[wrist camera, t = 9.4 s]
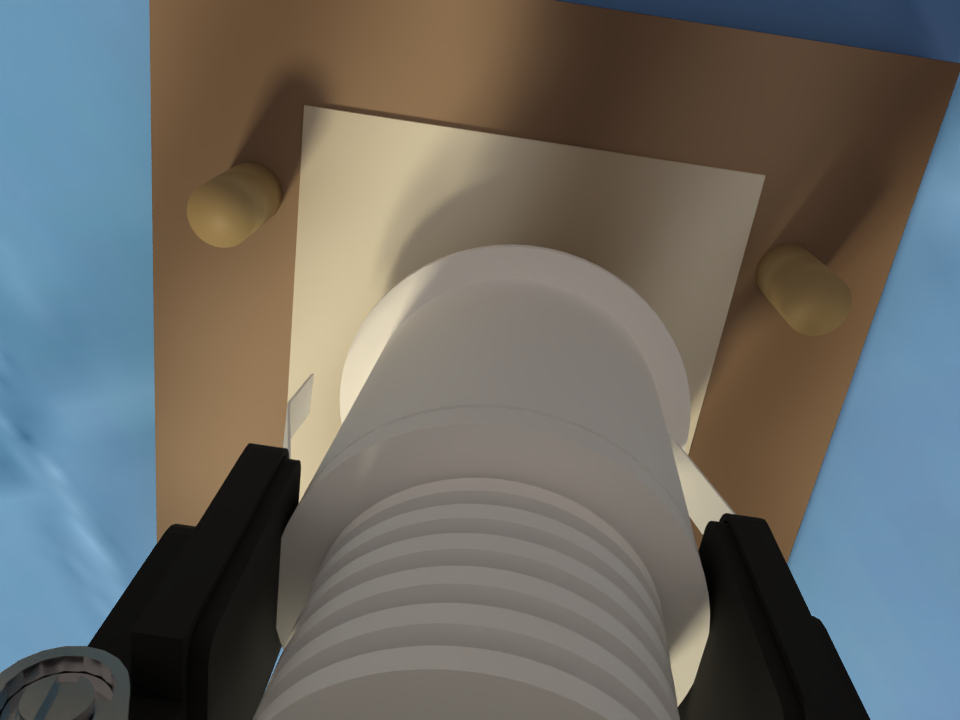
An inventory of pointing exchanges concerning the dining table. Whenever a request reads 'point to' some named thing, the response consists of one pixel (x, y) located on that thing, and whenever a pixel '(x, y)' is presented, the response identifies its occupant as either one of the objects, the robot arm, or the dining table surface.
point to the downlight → (498, 507)
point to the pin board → (520, 207)
